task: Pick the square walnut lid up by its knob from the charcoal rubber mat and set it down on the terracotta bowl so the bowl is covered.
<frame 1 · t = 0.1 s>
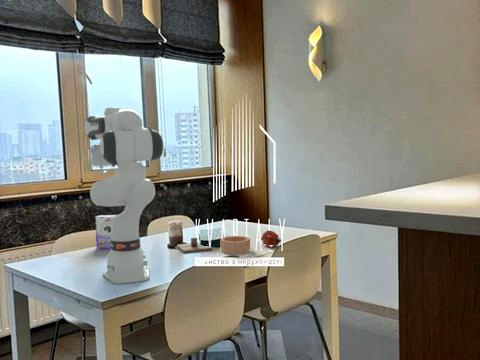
hand: (115, 174, 220), 39 cm above the table, tool pointing down, fingers open, 8 cm apart
lid: (194, 248, 241), resting on mat
mat: (194, 249, 241), on the table
candy box: (111, 248, 248), on the table
bowl: (235, 251, 236), on the table
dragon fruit: (271, 246, 245), on the table
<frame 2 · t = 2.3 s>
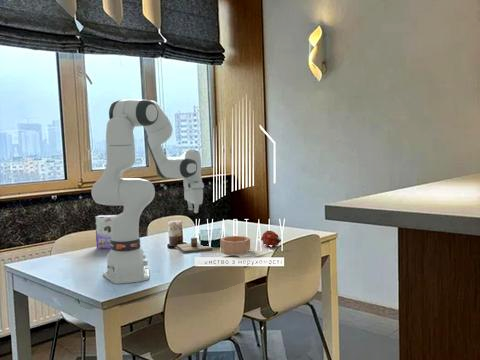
hand: (193, 211, 239), 19 cm above the table, tool pointing down, fingers open, 8 cm apart
nothing on the table moved.
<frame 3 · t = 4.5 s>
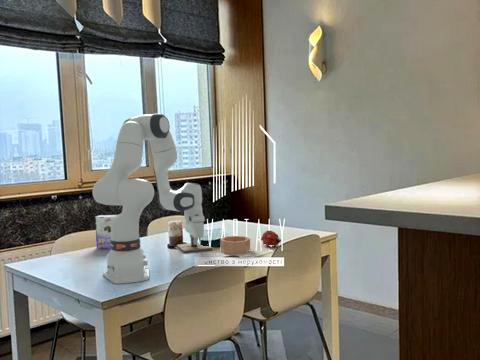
hand: (194, 243, 241), 3 cm above the table, tool pointing down, fingers closed on lid, 3 cm apart
lid: (194, 248, 241), resting on mat, touching gripper
everything else where it was.
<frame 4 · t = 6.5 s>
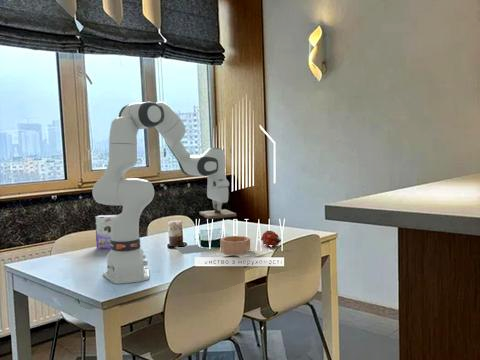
hand: (217, 209, 237), 20 cm above the table, tool pointing down, fingers closed on lid, 3 cm apart
lid: (217, 215, 237), point 17 cm above the table, touching gripper
everything else where it was.
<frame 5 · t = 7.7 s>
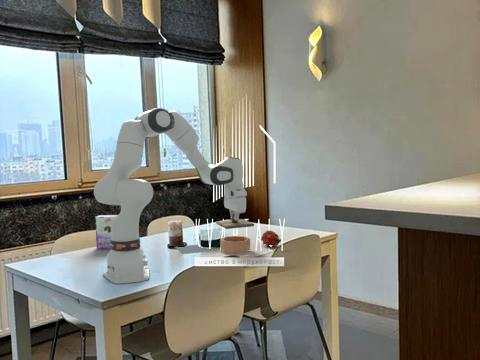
hand: (234, 219, 235), 15 cm above the table, tool pointing down, fingers closed on lid, 3 cm apart
lid: (234, 225, 235), point 13 cm above the table, touching gripper
everything else where it was.
when the fingers open (10 cm above the table, at t = 8.7 s): lid drops 1 cm, resting on bowl.
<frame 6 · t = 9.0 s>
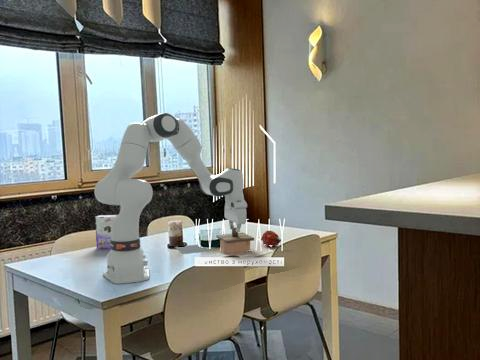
hand: (234, 230, 235), 10 cm above the table, tool pointing down, fingers open, 6 cm apart
lid: (235, 238, 235), point 6 cm above the table, touching bowl
everything else where it was.
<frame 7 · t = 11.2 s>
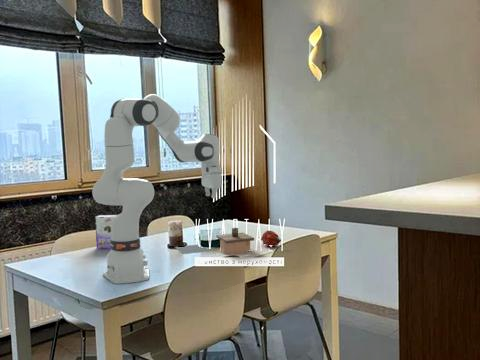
hand: (210, 197, 235), 26 cm above the table, tool pointing down, fingers open, 8 cm apart
nothing on the table moved.
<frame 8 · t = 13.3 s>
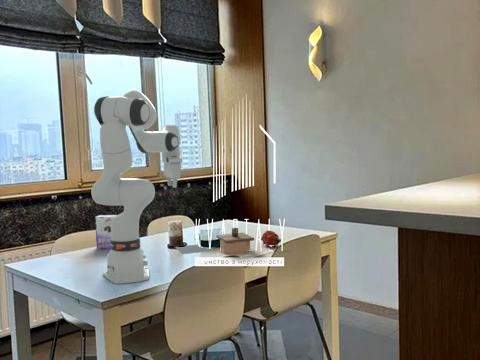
hand: (172, 186, 239), 31 cm above the table, tool pointing down, fingers open, 8 cm apart
nothing on the table moved.
at the end: lid inside the target area on the bowl (0.0 cm from its centre), point 6.0 cm above the bowl's base; lid tilted 0°; the gripper is holding nothing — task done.
